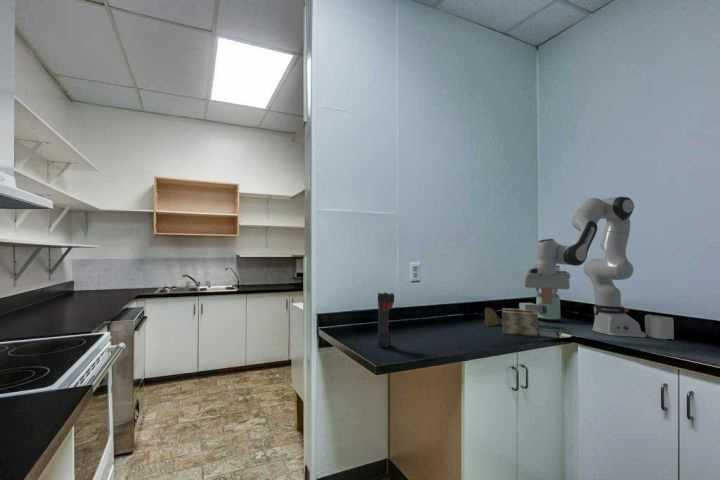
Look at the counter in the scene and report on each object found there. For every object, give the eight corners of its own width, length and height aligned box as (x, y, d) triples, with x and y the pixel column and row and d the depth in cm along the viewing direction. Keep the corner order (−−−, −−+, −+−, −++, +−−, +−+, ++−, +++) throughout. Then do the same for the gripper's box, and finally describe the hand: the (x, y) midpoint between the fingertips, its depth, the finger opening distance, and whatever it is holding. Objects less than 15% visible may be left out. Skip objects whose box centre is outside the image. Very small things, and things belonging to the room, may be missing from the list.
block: (550, 303, 170) (550, 287, 171) (552, 304, 166) (552, 288, 166) (541, 302, 172) (540, 287, 172) (542, 303, 168) (542, 287, 168)
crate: (534, 330, 177) (534, 310, 177) (537, 336, 164) (537, 314, 164) (502, 328, 183) (502, 308, 183) (502, 333, 170) (502, 312, 171)
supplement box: (538, 327, 187) (538, 304, 187) (525, 326, 187) (524, 304, 187) (531, 324, 194) (531, 302, 195) (519, 324, 194) (518, 302, 195)
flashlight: (392, 343, 150) (393, 292, 151) (395, 347, 142) (395, 294, 143) (375, 343, 149) (376, 292, 150) (377, 347, 141) (377, 294, 143)
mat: (554, 333, 171) (554, 332, 171) (557, 337, 162) (557, 336, 162) (537, 331, 174) (537, 330, 175) (539, 336, 165) (539, 334, 165)
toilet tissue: (664, 340, 159) (663, 319, 159) (637, 334, 170) (636, 315, 171) (679, 339, 162) (678, 318, 162) (652, 333, 173) (651, 314, 174)
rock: (498, 319, 197) (481, 316, 199) (503, 309, 192) (485, 306, 194) (501, 333, 189) (483, 330, 190) (506, 323, 184) (487, 320, 185)
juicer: (550, 323, 195) (549, 264, 197) (529, 319, 207) (528, 264, 209) (569, 321, 204) (568, 264, 206) (548, 317, 216) (547, 264, 218)
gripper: (568, 270, 169) (568, 298, 168) (524, 269, 177) (524, 295, 176) (571, 271, 163) (571, 299, 162) (524, 269, 171) (525, 296, 170)
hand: (546, 297), depth 169 cm, fingers closed on block, 4 cm apart
